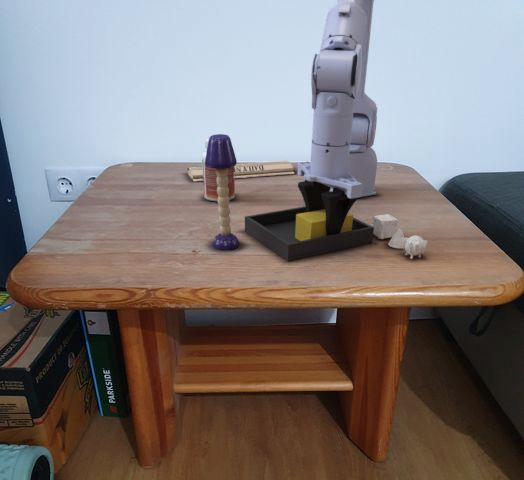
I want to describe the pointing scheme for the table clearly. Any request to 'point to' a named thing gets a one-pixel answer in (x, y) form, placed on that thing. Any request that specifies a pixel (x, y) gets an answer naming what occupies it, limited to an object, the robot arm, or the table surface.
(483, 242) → the table surface
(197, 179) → the newspaper
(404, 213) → the table surface
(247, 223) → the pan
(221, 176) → the toy lamp
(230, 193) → the pill bottle
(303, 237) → the sponge
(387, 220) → the game pieces
